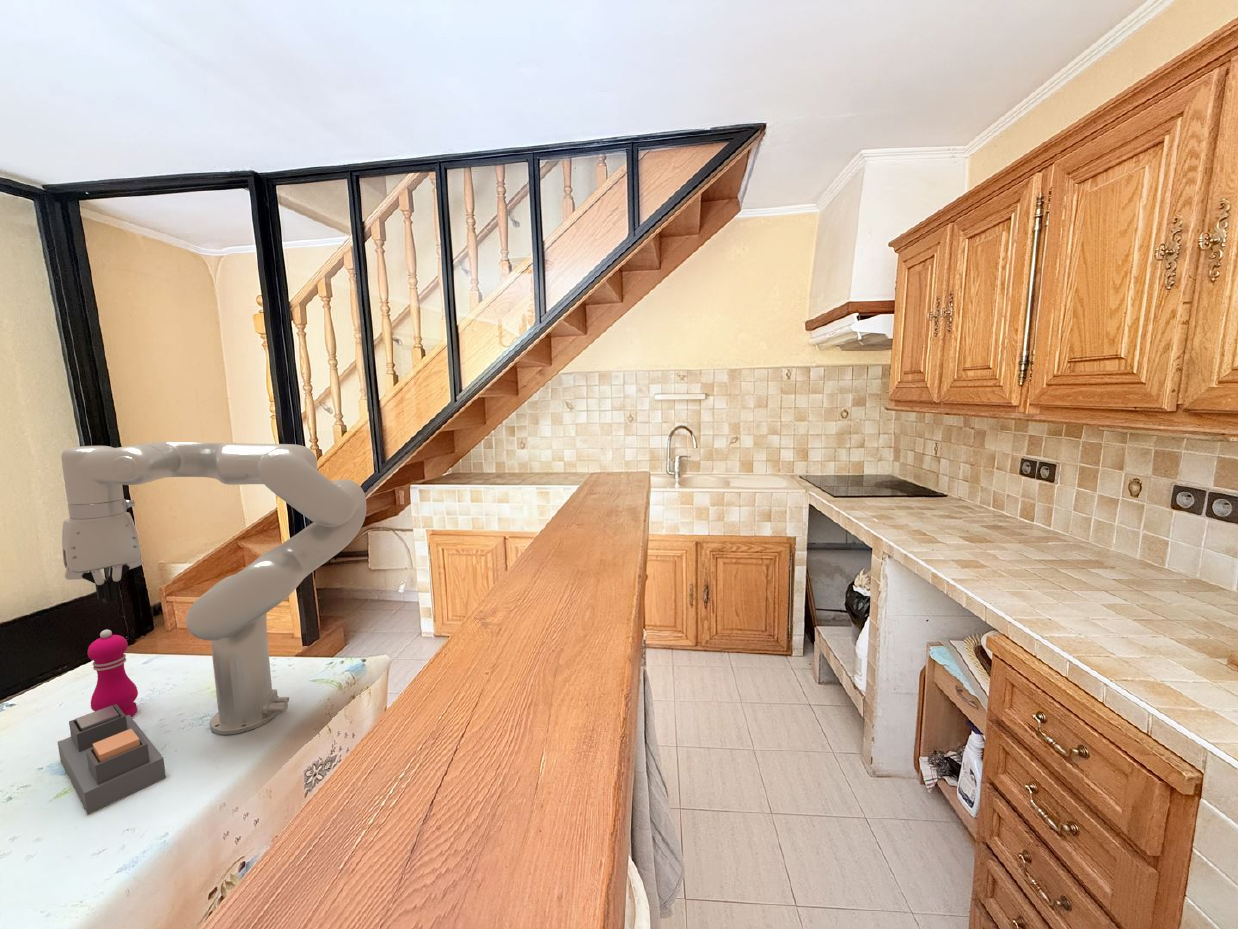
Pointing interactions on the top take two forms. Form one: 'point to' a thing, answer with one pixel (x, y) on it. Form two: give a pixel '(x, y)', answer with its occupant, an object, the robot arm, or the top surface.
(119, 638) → the pepper mill
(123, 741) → the terracotta button
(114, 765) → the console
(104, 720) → the grey button
